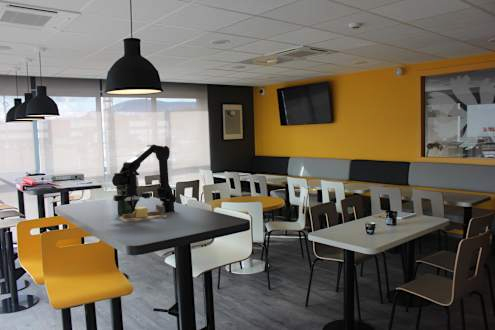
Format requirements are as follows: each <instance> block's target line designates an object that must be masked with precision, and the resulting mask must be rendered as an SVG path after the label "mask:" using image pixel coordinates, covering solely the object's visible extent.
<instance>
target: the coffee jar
mask: <svg viewBox="0 0 495 330" xmlns="http://www.w3.org/2000/svg"><path fill="white" fill-rule="evenodd" d="M121 188H125V189H126V185H121V186H116V195H122V196H125V194H121ZM132 199H133V198H131V200H132ZM133 213H134V212H132V211H131V209H130V206H129V204H128V203H127V202H126V201H125V199H123V200H122V201H117V215H120V216H122V215H124V214H133Z"/></svg>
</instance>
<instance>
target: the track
mask: <svg viewBox="0 0 495 330" xmlns="http://www.w3.org/2000/svg"><path fill="white" fill-rule="evenodd" d="M161 218H163V219H164V218H167V215H166V212H165V206H162V204H158V203H157V204H155V210H154V211H153V210H151V211H148V216H146V217H136V213H134V212H133V214H124V215H121V216H120V217H119V220H121V221H122V222H124V223H130V222H138V221H145V220H154V219H161Z"/></svg>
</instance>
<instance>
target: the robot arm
mask: <svg viewBox="0 0 495 330" xmlns="http://www.w3.org/2000/svg"><path fill="white" fill-rule="evenodd" d="M170 152H171V150H170V147H168V146H167V145H158V144H148V145H146V147H145V148H144V149H142V150H140V151H139V153H137V155H135V156H134V157H132V158H130V159H128V160H126V161H124V163H123V164H122V167H121V169H120V170H119V172H115V173H114V175H113V177H112V179H111V182H112V184H113V186H115V187H117V186H121V185H126V189H125V188H121V194H125V196H122V195H117V194H114V195H113V197H112V198H113V201H114V202H118V201H122V200H123V199H125V201H126V202H127V203H128V204H129V206H130V209H131V211H132V212H133V213H134V209H135V207H137V204H138V203H139V201H140V198H143V199H150V198H151V193H150V192H140V193H138V183H137V176H140V173H139V172H138V171H137V170H138V169H139V168H140V167H141V165H142V163H143V162H144V161H145V160H147V158H148V157H149V156H150V155H151V154H155V157H156V159H157V160H158V167H159V169H158V170H159V183H160V185H159V187H158V188H156V191H157V197H158V198H159V200H160V202H162V203H161V205H162V206H165V213H173V212H175V211H176V210H175V202H176V201H177V197H176V195H174V192H173V189H172V187H171V186H170V183H169V181H170V180H169V179H170V178H169V164H168V160H169V158H170V154H171V153H170ZM131 198H132V200H131Z"/></svg>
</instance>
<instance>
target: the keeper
mask: <svg viewBox="0 0 495 330" xmlns="http://www.w3.org/2000/svg"><path fill="white" fill-rule="evenodd" d="M148 209H149V208H148V207H146V206H136V207H135V209H134V212H133V213H136V217H146V216H148V212H149V210H148Z"/></svg>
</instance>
